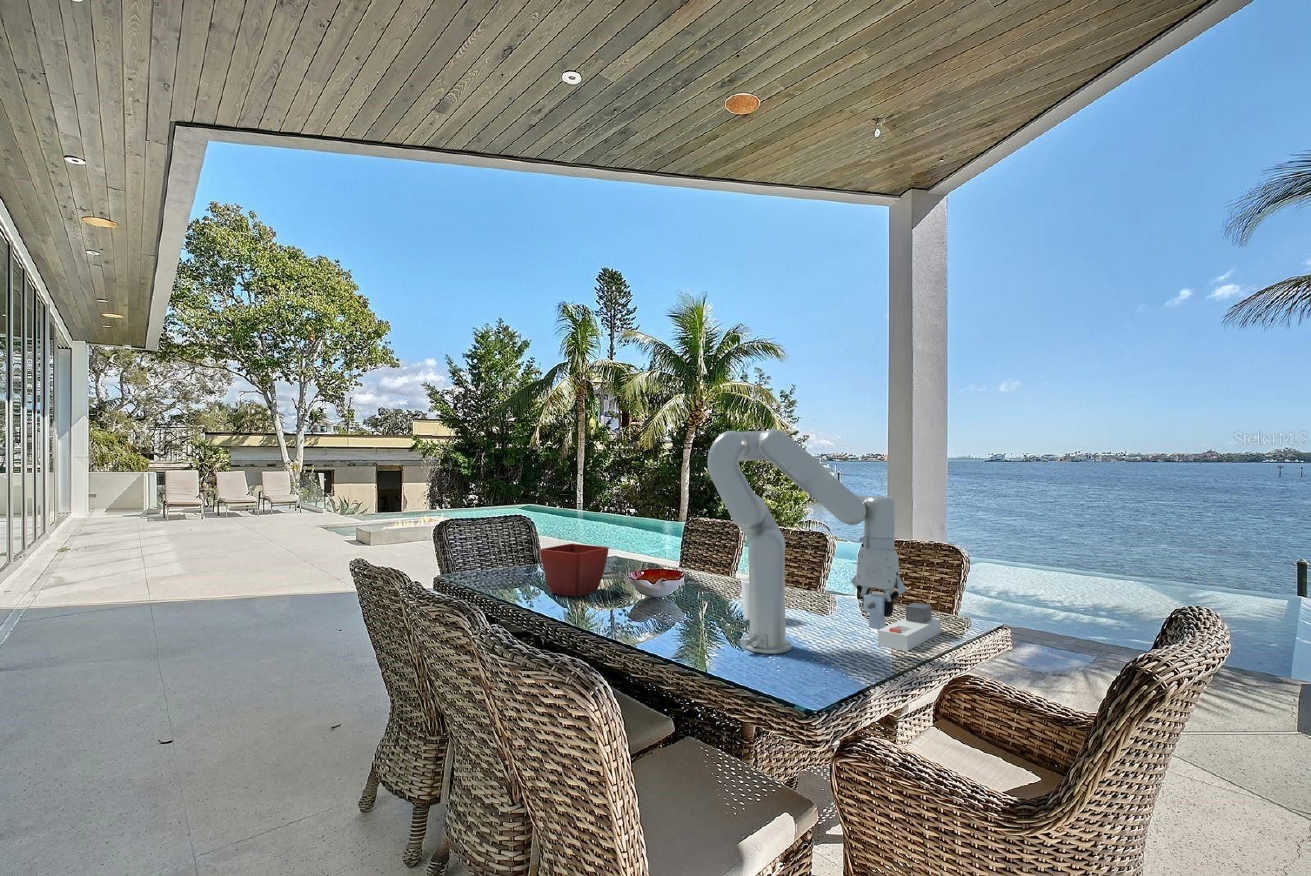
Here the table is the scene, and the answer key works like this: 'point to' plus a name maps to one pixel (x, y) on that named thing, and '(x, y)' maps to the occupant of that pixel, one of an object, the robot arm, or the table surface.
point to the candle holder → (746, 598)
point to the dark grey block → (918, 612)
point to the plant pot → (574, 568)
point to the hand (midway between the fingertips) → (877, 613)
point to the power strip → (908, 633)
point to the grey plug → (875, 609)
